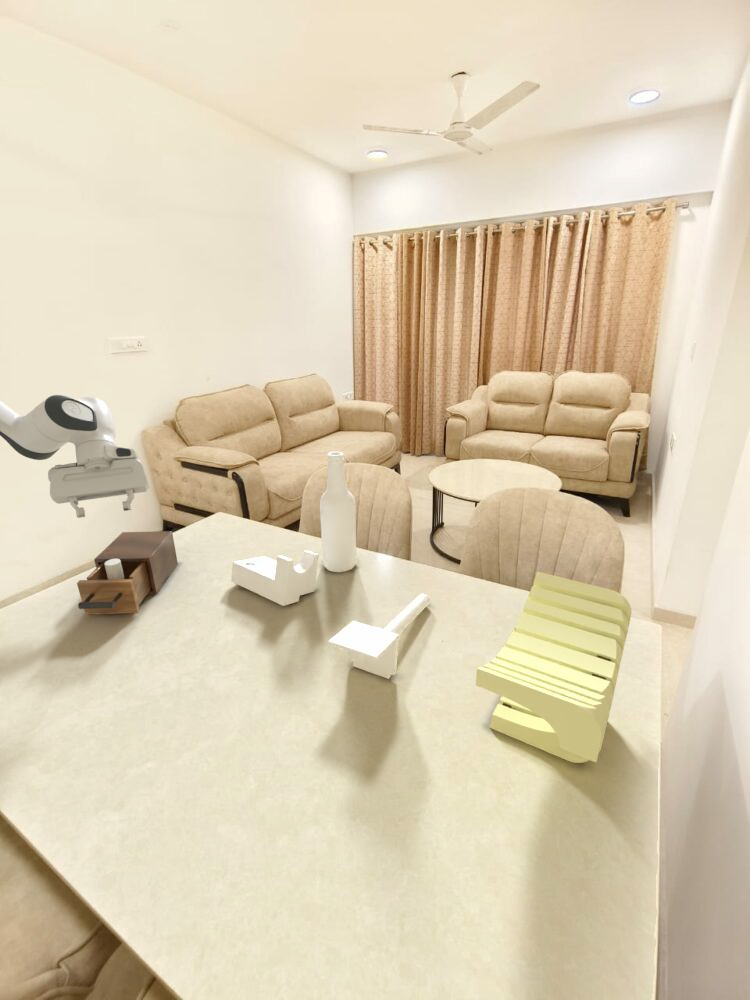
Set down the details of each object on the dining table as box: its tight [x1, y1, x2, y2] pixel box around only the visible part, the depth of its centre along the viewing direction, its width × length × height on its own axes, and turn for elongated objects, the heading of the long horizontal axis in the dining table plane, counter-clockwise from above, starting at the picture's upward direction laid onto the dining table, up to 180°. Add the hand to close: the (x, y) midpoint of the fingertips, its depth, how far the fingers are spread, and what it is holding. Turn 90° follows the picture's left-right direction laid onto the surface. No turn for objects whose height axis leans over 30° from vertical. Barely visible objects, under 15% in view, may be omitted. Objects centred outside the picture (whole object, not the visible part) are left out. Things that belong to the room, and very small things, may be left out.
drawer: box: [76, 561, 152, 615], centre depth 112 cm, size 18×11×8 cm, turn 1°
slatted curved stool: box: [475, 571, 632, 764], centre depth 78 cm, size 30×16×18 cm, turn 148°
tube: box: [104, 559, 125, 580], centre depth 111 cm, size 3×3×9 cm
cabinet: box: [93, 530, 179, 595], centre depth 123 cm, size 15×13×10 cm
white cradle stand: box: [230, 549, 320, 607], centre depth 119 cm, size 18×10×10 cm, turn 53°
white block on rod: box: [327, 593, 431, 680], centre depth 98 cm, size 9×9×32 cm
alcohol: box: [319, 451, 358, 573], centre depth 124 cm, size 9×9×30 cm
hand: (104, 513), depth 114 cm, fingers open, 8 cm apart
